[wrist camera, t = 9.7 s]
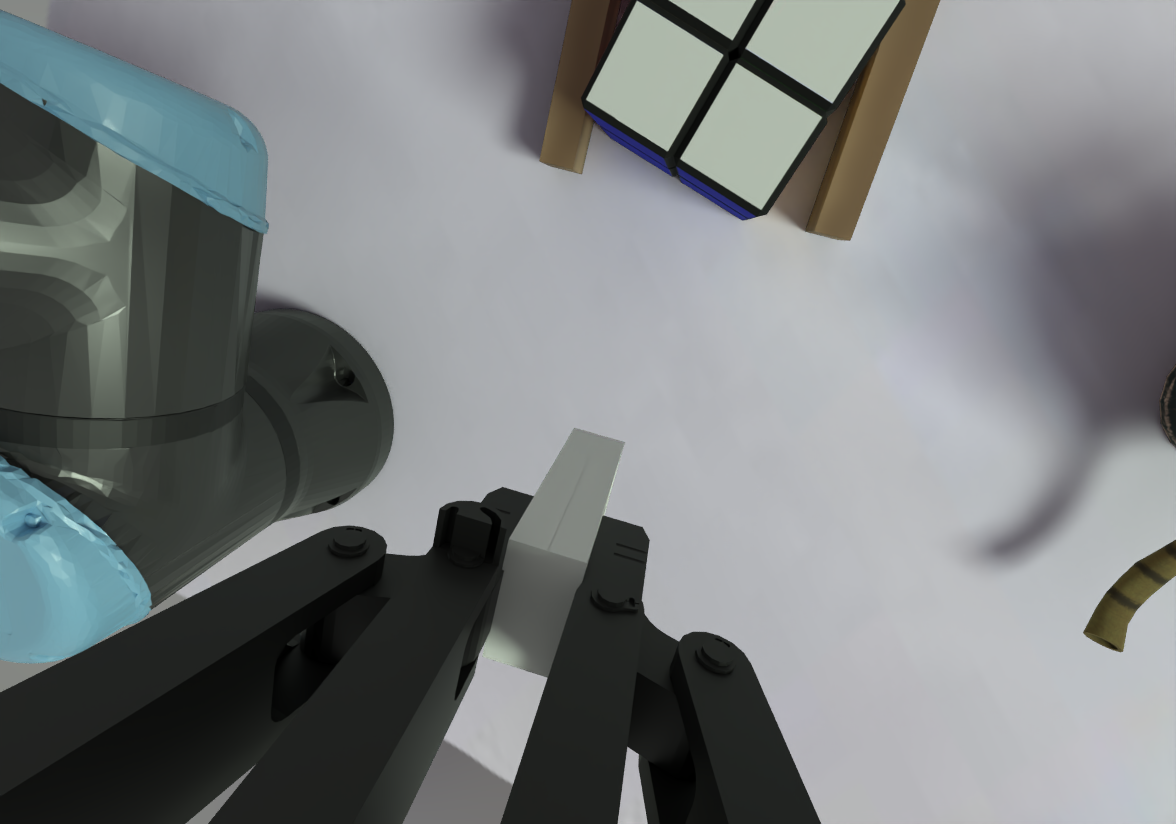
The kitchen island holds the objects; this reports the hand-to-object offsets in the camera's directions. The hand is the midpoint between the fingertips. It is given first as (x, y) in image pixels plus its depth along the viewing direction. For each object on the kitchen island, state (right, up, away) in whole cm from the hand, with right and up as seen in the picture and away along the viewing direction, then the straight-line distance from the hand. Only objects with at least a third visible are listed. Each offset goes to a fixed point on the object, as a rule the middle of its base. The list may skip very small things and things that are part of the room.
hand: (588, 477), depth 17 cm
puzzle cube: (+8, +20, +18) cm, 28 cm away
